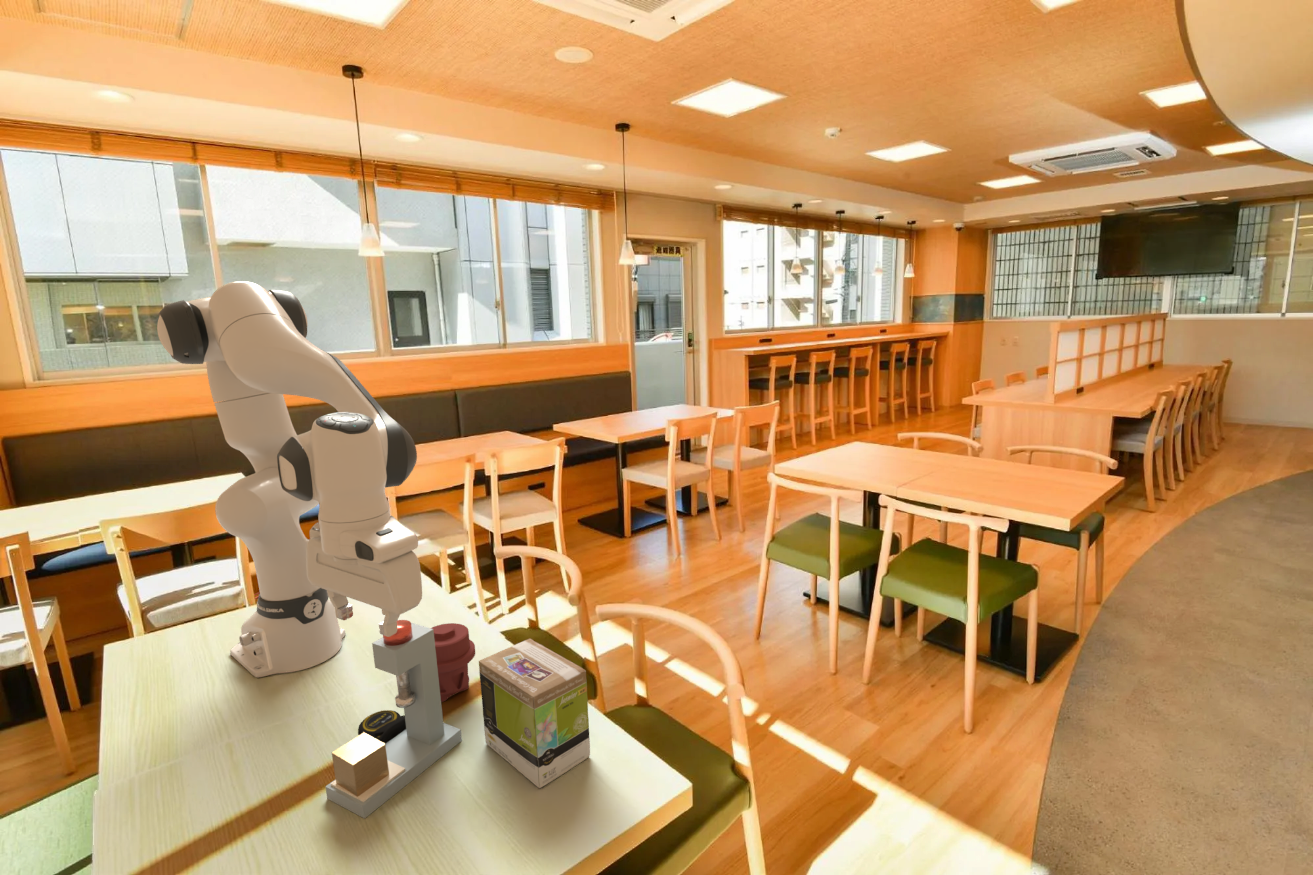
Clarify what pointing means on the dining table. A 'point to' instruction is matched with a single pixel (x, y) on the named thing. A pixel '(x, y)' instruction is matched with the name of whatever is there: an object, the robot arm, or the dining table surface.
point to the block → (360, 764)
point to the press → (407, 723)
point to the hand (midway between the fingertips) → (366, 625)
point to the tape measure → (383, 725)
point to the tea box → (535, 710)
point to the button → (403, 681)
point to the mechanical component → (452, 658)
